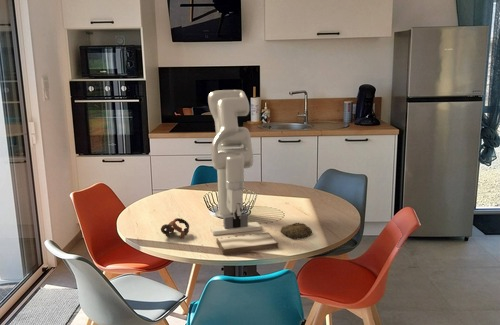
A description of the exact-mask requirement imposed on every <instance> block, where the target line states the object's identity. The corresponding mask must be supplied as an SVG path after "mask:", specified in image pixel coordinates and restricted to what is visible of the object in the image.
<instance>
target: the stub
mask: <svg viewBox="0 0 500 325" xmlns="http://www.w3.org/2000/svg"><path fill="white" fill-rule="evenodd" d="M235 215H236V214H235ZM248 217H249V216H248V214H247V213H242V214H241V216H240V221H241V227H238V228H233V219H234V215H224V216H223V218H222V219H223V220H222V221H223V225H216V226H215V225H214V226H210V232H211V234H212V236H218V235H220V236H221V235H226V234H227V235H228V234H229V235H230V234H236V233H245V232H255V231H256V232H257V231H261V230H262V226H261V224H260V223H259V222H258V221H254V222H253V221H252V222H249V218H248Z"/></svg>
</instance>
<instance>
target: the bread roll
mask: <svg viewBox="0 0 500 325" xmlns="http://www.w3.org/2000/svg"><path fill="white" fill-rule="evenodd" d="M280 233H281V234H282V235H283V236H286V237H287V238H290V239H292V240H302V239H307V238H308V237H310V236H312V235H313V230H312V229H311V227H310V226H308V225H306V224H305V223H302V222H295V223H292V224H287V225H284V226H282V227H281V229H280Z"/></svg>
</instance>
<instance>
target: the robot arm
mask: <svg viewBox="0 0 500 325" xmlns="http://www.w3.org/2000/svg"><path fill="white" fill-rule="evenodd" d="M207 103H208V108H209V111H210V113H211V116H212V118H213V120H214V126H215V127H214V129H215V136H214V138H213V140H212V142H211V147H210V150H211V151H210V152H211V153H210V154H211V163H212V167H213V169H215V170H216V172H217V173H216V174H217V200H218V201H217V206H218V208H217V210H216V211H214V214H215V216H216V217H218V218H220V219H223V216H224V215H234V219H233V228H238V227H241V221H240V216H241V214H243V211H244V210H243V209H244V204H243V203H244V200H243V189H244V188H245V171H244V170H245V169H250V168H251V167H252V166H254V154H253V152H254V151H253V147H252V146H253V145H252V138H251V132H250V131H249V128H247V127H245V126H239V123H238V122H239V121H238V117H247V116H248V115H249V113H250V102H249V100H248V97H247V95H246V93H245V91H243V90H242V89H222V90H219V89H218V90H214V91H210V93H208V96H207ZM219 147H220V148H221V149H219V150H218V148H219ZM235 214H236V215H235Z"/></svg>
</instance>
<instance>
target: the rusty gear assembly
mask: <svg viewBox="0 0 500 325" xmlns="http://www.w3.org/2000/svg"><path fill="white" fill-rule="evenodd" d="M176 222H178V223H179V224H184V225H185V228H182V227H181V226H179V225H177V224H178V223H177V224H176ZM160 231H161V233H162V234H163V235H164V236H165V237H170V233H174V232H175V231H177V232H178V233H180V236H179V239H181V240H182V239H184V238H185V236H187V235H188V233H189V231H190V224H189V222H187V221H186V220H185V219H183V218H177V217H176V218H174V219H173V220H171V221H170V222H169V223H168V224H163V225H162V226H161V227H160Z"/></svg>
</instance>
